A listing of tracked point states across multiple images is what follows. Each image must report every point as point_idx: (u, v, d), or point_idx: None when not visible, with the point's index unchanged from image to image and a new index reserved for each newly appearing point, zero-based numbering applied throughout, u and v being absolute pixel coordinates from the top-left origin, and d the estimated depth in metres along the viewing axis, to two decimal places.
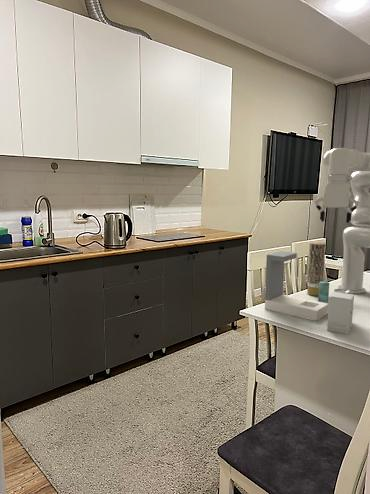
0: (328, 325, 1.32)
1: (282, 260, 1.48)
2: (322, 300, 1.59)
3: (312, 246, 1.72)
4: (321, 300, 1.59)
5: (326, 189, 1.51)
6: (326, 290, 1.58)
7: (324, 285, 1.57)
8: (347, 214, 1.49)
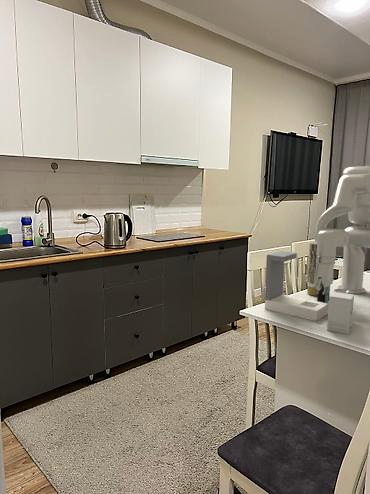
0: (328, 325, 1.32)
1: (282, 260, 1.48)
2: None
3: (312, 246, 1.72)
4: None
5: (326, 271, 1.54)
6: (326, 290, 1.58)
7: None
8: (329, 293, 1.61)
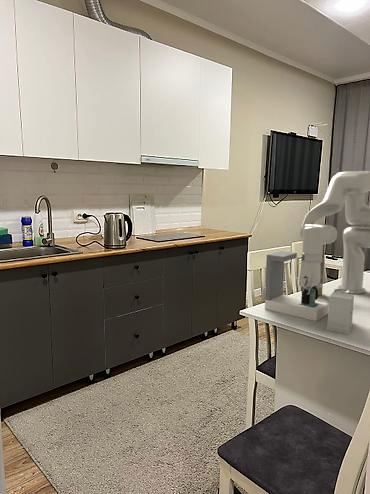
0: (328, 325, 1.32)
1: (282, 260, 1.48)
2: None
3: None
4: None
5: (312, 269, 1.42)
6: (312, 298, 1.47)
7: (310, 292, 1.46)
8: (317, 292, 1.50)
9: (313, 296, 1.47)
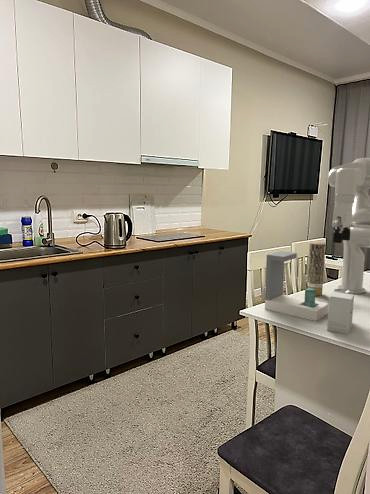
0: (328, 325, 1.32)
1: (282, 260, 1.48)
2: None
3: (312, 246, 1.72)
4: None
5: (346, 209, 1.47)
6: (312, 298, 1.47)
7: (310, 292, 1.46)
8: (349, 232, 1.55)
9: (313, 296, 1.47)
